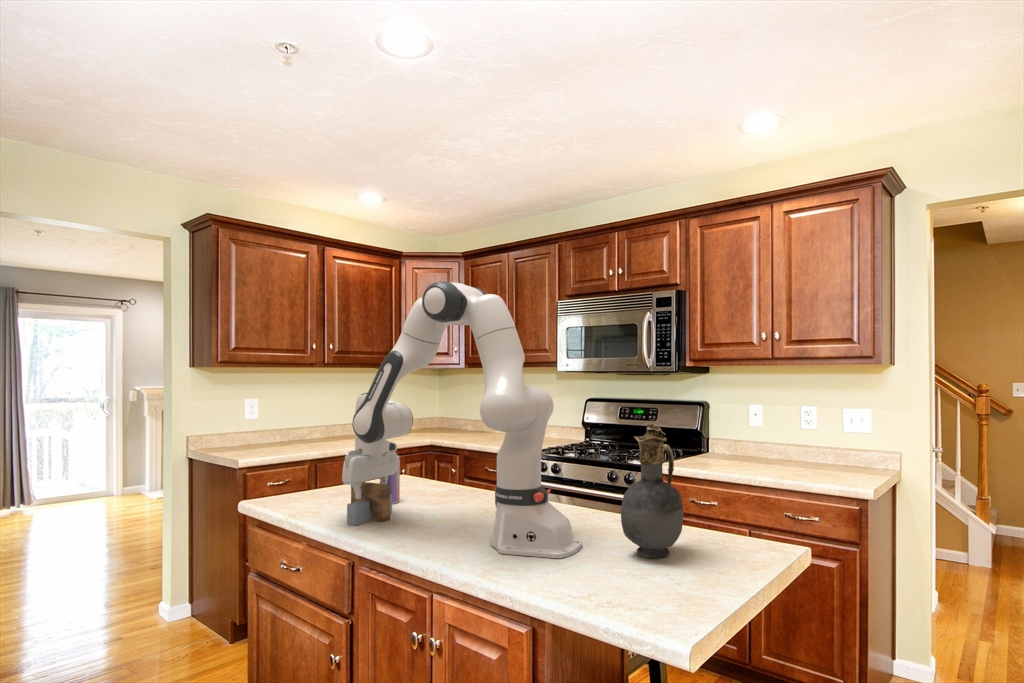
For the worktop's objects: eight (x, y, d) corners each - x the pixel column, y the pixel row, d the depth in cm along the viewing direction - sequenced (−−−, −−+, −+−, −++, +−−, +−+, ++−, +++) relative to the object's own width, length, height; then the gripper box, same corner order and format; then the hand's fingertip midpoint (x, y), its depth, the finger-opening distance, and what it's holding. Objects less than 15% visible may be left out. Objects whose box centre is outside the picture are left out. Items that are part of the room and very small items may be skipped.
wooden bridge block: (390, 519, 172) (390, 484, 173) (383, 522, 169) (383, 486, 170) (357, 515, 178) (358, 481, 178) (350, 517, 175) (351, 483, 175)
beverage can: (389, 505, 190) (389, 458, 191) (377, 503, 193) (377, 456, 194) (403, 502, 195) (403, 455, 195) (391, 499, 198) (391, 454, 199)
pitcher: (615, 557, 136) (613, 425, 138) (653, 538, 151) (651, 419, 152) (659, 567, 130) (657, 428, 131) (694, 546, 144) (692, 422, 146)
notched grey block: (391, 513, 180) (392, 494, 180) (355, 525, 166) (355, 505, 166) (384, 512, 181) (384, 493, 182) (347, 524, 167) (347, 504, 167)
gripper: (354, 452, 164) (354, 503, 163) (400, 443, 182) (400, 489, 181) (336, 451, 167) (336, 501, 166) (384, 442, 185) (384, 487, 184)
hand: (370, 495), depth 174 cm, fingers open, 8 cm apart
